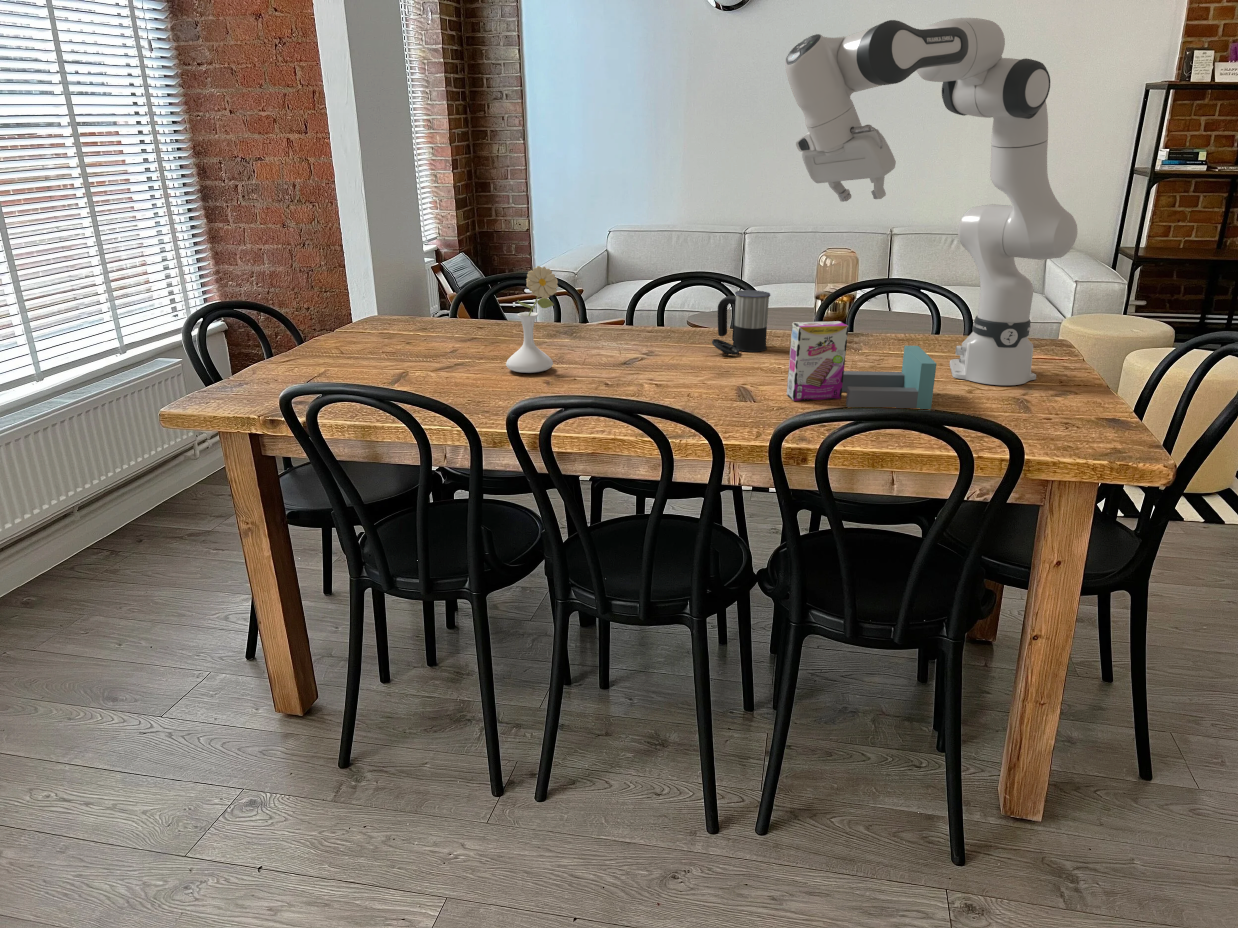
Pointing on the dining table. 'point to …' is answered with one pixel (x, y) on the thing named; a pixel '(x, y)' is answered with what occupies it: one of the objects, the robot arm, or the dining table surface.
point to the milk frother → (744, 322)
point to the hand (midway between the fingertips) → (863, 199)
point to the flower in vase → (529, 354)
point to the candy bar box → (817, 360)
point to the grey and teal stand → (894, 384)
